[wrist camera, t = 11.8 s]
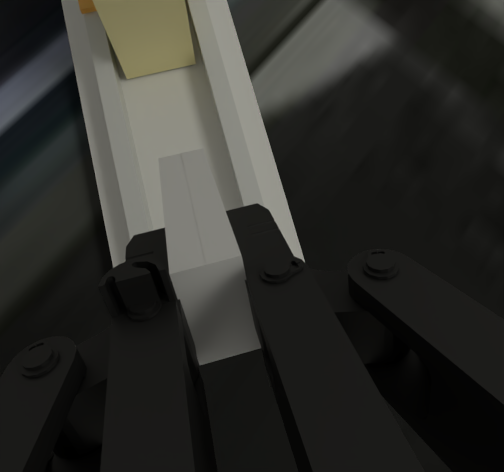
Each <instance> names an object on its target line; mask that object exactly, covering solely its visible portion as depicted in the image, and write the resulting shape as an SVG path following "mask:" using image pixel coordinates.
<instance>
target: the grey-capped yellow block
mask: <svg viewBox="0 0 504 472" xmlns="http://www.w3.org/2000/svg"><path fill="white" fill-rule="evenodd" d="M92 1H93V3H94V5H95V8H96V10H97V12H98V14H99V17H100V19H101V21H102V24H103V26H104V28H105V30H106V33H107V35H108V37H109V39H110V42H111V44H112V46H113V48H114V51H115V53H116V55H117V57H118V60H119V62H120V64H121V67H122V69H123V71H124V73H125V76H126V78H127V79H130V78H135V77H139V76H144V75H148V74H153V73H158V72H162V71H167V70H171V69H176V68H180V67H185V66H189V65H194V64H196V62H195V56H194V50H193V44H192V39H191V33H190V27H189V21H188V15H187V10H186V4H185V0H92Z"/></svg>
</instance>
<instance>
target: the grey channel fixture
mask: <svg viewBox="0 0 504 472" xmlns="http://www.w3.org/2000/svg"><path fill="white" fill-rule="evenodd" d="M61 2H62V7H63V12H64V17H65V22H66V28H67V33H68V38H69V43H70V48H71V53H72V58H73V64H74V69H75V74H76V79H77V84H78V89H79V94H80V99H81V105H82V110H83V115H84V120H85V125H86V130H87V135H88V141H89V146H90V151H91V156H92V161H93V166H94V171H95V176H96V182H97V187H98V192H99V197H100V202H101V207H102V212H103V218H104V223H105V228H106V233H107V238H108V243H109V248H110V253H111V259H112V264H113V268H114V267H116V266H117V265H119V264H121V263H124V262H125V261H126V259H125V254H126V246H127V245H128V243H129V242H130V240H131V239H132V237H133V236H134V235H137V234H141V233H145V232H149V231H153V230H157V229H161V228H165V223H164V213H163V203H162V192H161V182H160V171H159V161H158V158H162V157H167V156H171V155H175V154H180V153H184V152H188V151H192V150H197V149H201V148H203V149H204V152H205V155H206V158H207V161H208V163H209V166H210V169H211V172H212V175H213V177H214V180H215V183H216V186H217V188H218V191H219V194H220V197H221V200H222V202H223V205H224V208H225V211H228V210H232V209H236V208H240V207H244V206H248V205H252V204H256V203H258V204H260V205H261V206H263V207H265V208H267V209H269V211H270V213H271V215H272V216H273V218H274V221H275V222H276V224H277V226H278V228H279V229H280V231H281V233H282V235H283V237H284V238H285V240H286V242H287V244H288V246H289V248H290V249H291V251H292V253H293V255H294V256H295V257H297V258H299V259H302V260H303V261H304V257H303V254H302V251H301V247H300V244H299V241H298V237H297V234H296V231H295V227H294V224H293V221H292V217H291V214H290V211H289V207H288V204H287V201H286V197H285V194H284V191H283V187H282V184H281V181H280V177H279V174H278V171H277V167H276V164H275V161H274V157H273V154H272V151H271V147H270V144H269V141H268V137H267V134H266V131H265V127H264V124H263V121H262V117H261V114H260V111H259V107H258V104H257V100H256V97H255V94H254V90H253V87H252V84H251V80H250V77H249V74H248V70H247V67H246V64H245V60H244V57H243V54H242V50H241V47H240V44H239V40H238V37H237V34H236V30H235V27H234V24H233V20H232V17H231V14H230V10H229V7H228V4H227V0H185V4H186V10H187V15H188V21H189V27H190V33H191V39H192V44H193V50H194V56H195V62H196V64H194V65H189V66H185V67H180V68H176V69H171V70H167V71H162V72H158V73H153V74H148V75H144V76H139V77H135V78H130V79H127V78H126V76H125V73H124V71H123V69H122V67H121V64H120V62H119V60H118V57H117V55H116V53H115V51H114V48H113V46H112V44H111V42H110V39H109V37H108V35H107V33H106V30H105V28H104V26H103V24H102V21H101V19H100V17H99V14H98V12H97V10H96V8H95V5H94V3H93V1H92V0H61ZM304 262H305V261H304Z"/></svg>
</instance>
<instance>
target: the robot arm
mask: <svg viewBox="0 0 504 472" xmlns="http://www.w3.org/2000/svg"><path fill="white" fill-rule="evenodd" d="M158 161H159V171H160V182H161V192H162V203H163V213H164V223H165V228H161V229H157V230H153V231H149V232H145V233H141V234H137V235H134V236H133V237H132V239H131V240H130V242H129V243H128V245H127V246H126V254H125V259H126V261H125V262H124V263H121V264H119V265H117V266H116V267H114V268H113V269H111V270H109V271H108V272H107V273H106V274H105V275H104V276H103V277H102V279H101V281H100V283H99V286H98V288H99V290H100V292H101V294H102V297H103V299H104V301H105V303H106V305H107V308H108V310H109V312H110V314H111V316H112V325H110V326H109V327H108V328H107V329H106V330H104V331H103V332H101V333H100V334H98V335H96V336H94V337H93V338H91V339H89V340H87V341H85V342H83V343H81V344H79V345H77V346H76V345H75V343H74V342H73V341H72V340H70V339H69V338H67V337H61V336H53V337H49V338H45V339H41V340H39V341H37V342H35V343H33V344H31V345H29V346H27V347H26V348H25V349H24V350H22V351H21V352H20V353H18V354H17V355H16V356H15V357H14V359H13V360H12V361H11V362H10V363H9V365H8V366H7V368H6V369H5V371H4V372H3V374H2V376H1V377H0V472H217V465H216V459H215V453H214V446H213V440H212V434H211V427H210V421H209V415H208V408H207V402H206V396H205V389H204V383H203V380H202V377H201V374H200V371H199V368H198V362H199V365H203V364H206V363H210V362H213V361H217V360H220V359H224V358H227V357H231V356H234V355H238V354H241V353H245V352H248V351H252V350H256V349H259V348H262V352H263V357H264V361H265V366H266V371H267V376H268V380H269V385H270V387H272V388H273V391H274V395H275V398H276V401H277V404H278V407H279V410H280V414H281V417H282V420H283V423H284V426H285V429H286V433H287V436H288V439H289V442H290V445H291V448H292V452H293V455H294V458H295V461H296V464H297V468H298V471H299V472H425V471H424V470H423V468H422V466H421V464H420V463H419V461H418V459H417V457H416V456H415V454H414V452H413V450H412V449H411V447H410V445H409V443H408V442H407V440H406V438H405V436H404V434H403V433H402V431H401V429H400V427H399V426H398V424H397V422H396V420H395V419H394V417H393V415H392V413H391V412H390V410H389V408H388V406H387V405H386V403H385V401H384V399H385V400H386V401H387V402H388V403H389V404H390V405H391V406H392V407H393V408H394V409H395V410H396V411H397V413H398V414H399V415H400V416H401V417H402V418H403V419H404V420H405V421H406V422H407V423H408V424H409V425H410V427H411V428H412V429H413V430H414V431H415V432H416V433H417V434H418V435H419V436H420V437H421V438H422V439H423V440H424V442H425V443H426V444H427V445H428V446H429V447H430V448H431V449H432V450H433V451H434V452H435V453H436V454H437V456H438V457H439V458H440V459H441V460H442V461H443V462H444V463H445V464H446V465H447V466H448V467H449V468H450V469H451V471H452V472H504V319H502V318H501V317H499V316H498V315H496V314H495V313H493V312H492V311H490V310H489V309H487V308H485V307H484V306H482V305H481V304H479V303H478V302H476V301H475V300H473V299H472V298H470V297H469V296H467V295H466V294H464V293H462V292H461V291H459V290H458V289H456V288H455V287H453V286H452V285H450V284H449V283H447V282H446V281H444V280H443V279H441V278H440V277H438V276H436V275H435V274H433V273H432V272H430V271H429V270H427V269H426V268H424V267H423V266H421V265H420V264H418V263H417V262H415V261H413V260H412V259H410V258H409V257H407V256H406V255H403V254H401V253H399V252H397V251H393V250H387V249H372V250H368V251H364V252H361V253H359V254H357V255H356V256H354V257H353V258H352V259H351V260H350V262H349V264H348V265H347V267H348V270H347V271H319V270H313V269H310V268H309V267H308V265H307V264H306V263H305V262H304V261H303V260H302V259H299V258H297V257H295V256H294V255H293V253H292V251H291V249H290V248H289V246H288V244H287V242H286V240H285V238H284V237H283V235H282V233H281V231H280V229H279V228H278V226H277V224H276V222H275V221H274V218H273V216H272V215H271V213H270V211H269V209H267V208H265V207H263V206H261V205H260V204H258V203H256V204H252V205H248V206H244V207H240V208H236V209H232V210H228V211H225V208H224V205H223V202H222V200H221V197H220V194H219V191H218V188H217V186H216V183H215V180H214V177H213V175H212V172H211V169H210V166H209V163H208V161H207V158H206V155H205V152H204V149H203V148H201V149H197V150H192V151H188V152H184V153H180V154H175V155H171V156H167V157H162V158H158ZM197 359H198V361H197ZM381 395H382V396H383V397H384V399H383V397H382V396H381Z"/></svg>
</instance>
